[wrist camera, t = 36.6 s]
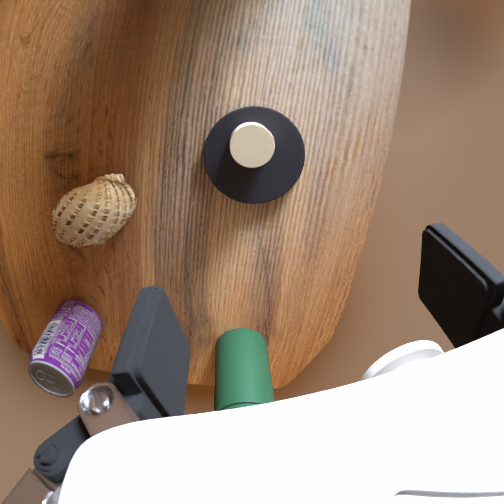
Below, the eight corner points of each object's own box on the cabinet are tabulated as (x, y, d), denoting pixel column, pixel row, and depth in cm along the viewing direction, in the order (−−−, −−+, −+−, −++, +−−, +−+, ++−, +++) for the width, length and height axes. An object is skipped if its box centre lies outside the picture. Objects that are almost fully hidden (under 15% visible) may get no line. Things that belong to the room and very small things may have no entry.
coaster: (322, 142, 31) (324, 143, 31) (268, 218, 35) (268, 220, 34) (239, 87, 28) (239, 87, 27) (186, 171, 32) (185, 173, 31)
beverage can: (57, 323, 40) (25, 383, 29) (62, 288, 37) (23, 349, 27) (99, 342, 42) (75, 407, 31) (109, 309, 39) (80, 377, 29)
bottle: (275, 336, 43) (295, 450, 27) (252, 368, 46) (262, 474, 30) (227, 321, 41) (229, 441, 26) (208, 355, 44) (204, 466, 28)
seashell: (95, 156, 33) (47, 229, 32) (87, 146, 27) (31, 232, 26) (146, 194, 35) (98, 266, 34) (147, 191, 30) (91, 276, 29)
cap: (242, 114, 29) (243, 116, 27) (279, 134, 30) (282, 137, 28) (222, 151, 30) (221, 155, 28) (258, 169, 31) (261, 175, 29)
